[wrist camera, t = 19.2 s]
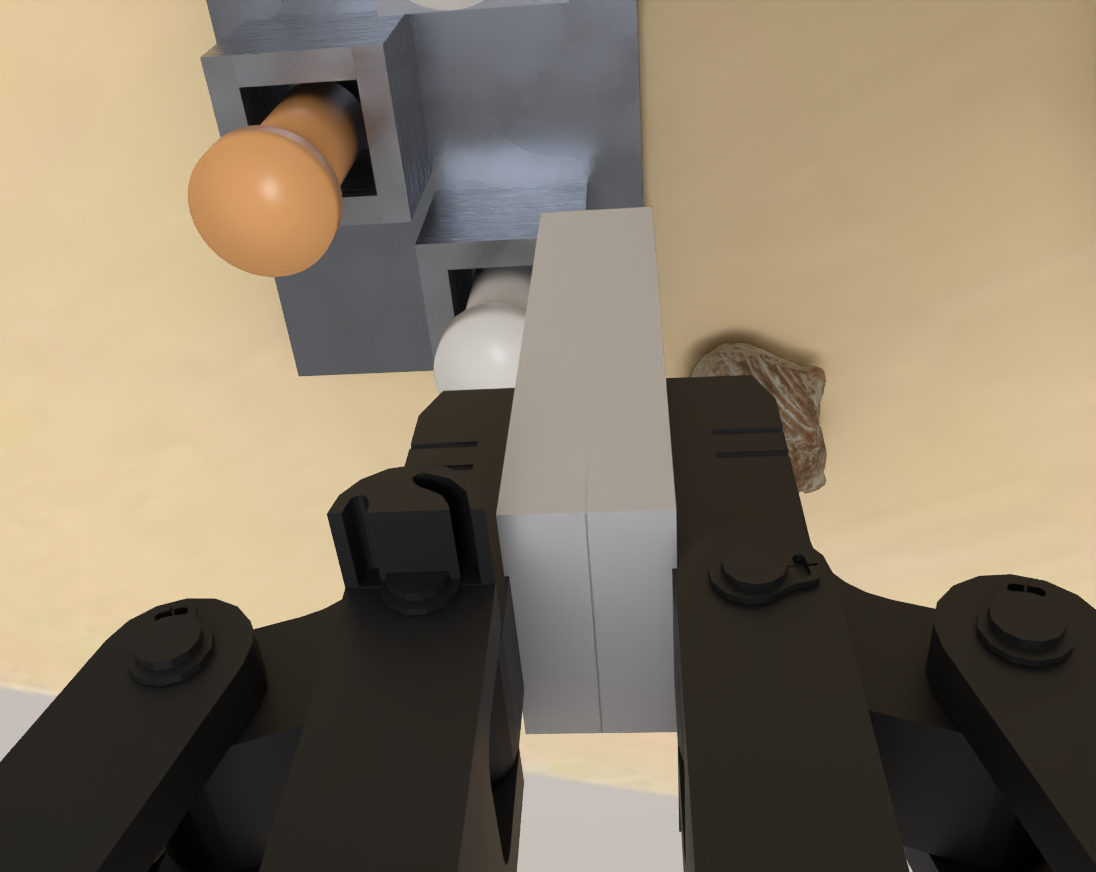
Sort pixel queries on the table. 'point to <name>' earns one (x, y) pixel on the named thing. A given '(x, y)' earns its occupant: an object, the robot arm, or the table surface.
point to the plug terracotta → (279, 182)
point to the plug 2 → (485, 333)
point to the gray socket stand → (436, 149)
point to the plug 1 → (446, 4)
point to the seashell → (781, 402)
